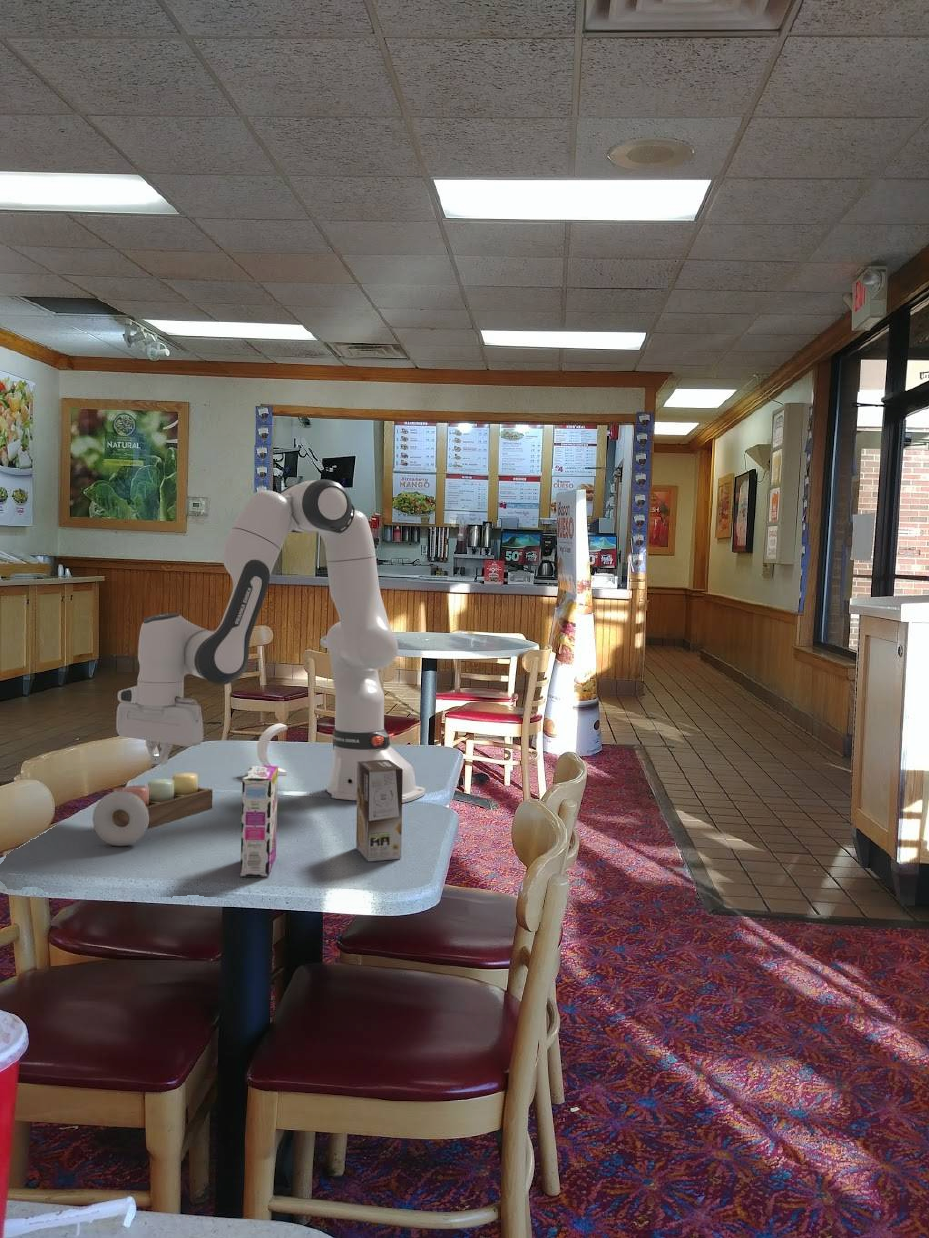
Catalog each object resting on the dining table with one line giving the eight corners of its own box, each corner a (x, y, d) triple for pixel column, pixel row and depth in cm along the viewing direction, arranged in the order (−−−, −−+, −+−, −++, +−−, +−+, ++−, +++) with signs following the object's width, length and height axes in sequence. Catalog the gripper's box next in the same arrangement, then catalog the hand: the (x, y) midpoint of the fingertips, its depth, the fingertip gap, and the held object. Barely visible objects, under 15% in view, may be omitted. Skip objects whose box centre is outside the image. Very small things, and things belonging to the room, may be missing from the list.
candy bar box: (270, 877, 158) (271, 778, 157) (239, 878, 157) (240, 778, 156) (278, 857, 169) (279, 764, 168) (249, 857, 168) (249, 764, 167)
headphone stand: (286, 775, 234) (287, 726, 233) (262, 777, 231) (263, 727, 230) (280, 771, 238) (281, 723, 237) (256, 773, 235) (257, 724, 234)
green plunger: (179, 800, 194) (179, 780, 194) (161, 805, 190) (161, 785, 189) (160, 797, 196) (160, 777, 196) (142, 802, 192) (142, 782, 192)
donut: (151, 843, 175) (151, 789, 175) (145, 849, 172) (145, 793, 171) (96, 842, 175) (96, 788, 175) (89, 847, 172) (89, 792, 171)
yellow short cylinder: (202, 793, 200) (202, 774, 200) (185, 798, 196) (185, 779, 195) (184, 790, 202) (184, 771, 202) (167, 795, 198) (167, 776, 198)
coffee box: (402, 859, 169) (404, 768, 168) (367, 862, 167) (369, 771, 166) (387, 844, 178) (389, 758, 177) (354, 847, 175) (355, 760, 175)
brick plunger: (154, 807, 188) (154, 787, 188) (134, 813, 183) (135, 792, 183) (135, 804, 190) (135, 784, 190) (115, 809, 186) (115, 789, 186)
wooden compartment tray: (212, 808, 201) (212, 789, 201) (134, 832, 182) (134, 811, 182) (183, 803, 204) (184, 784, 204) (104, 826, 185) (104, 806, 185)
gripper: (211, 698, 190) (209, 767, 190) (135, 688, 199) (133, 755, 200) (188, 701, 184) (187, 772, 185) (111, 691, 193) (110, 759, 194)
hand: (158, 763), depth 192 cm, fingers closed
